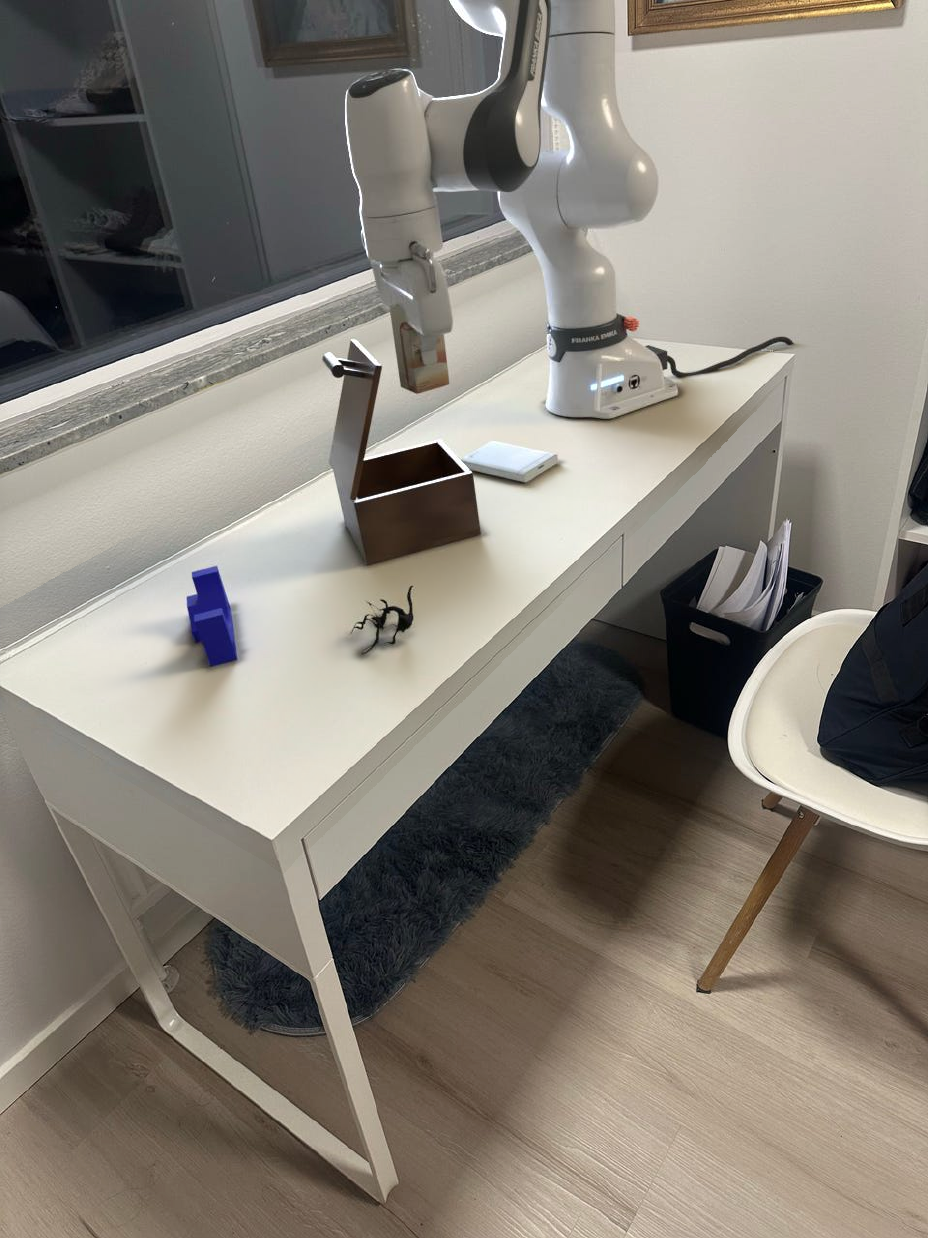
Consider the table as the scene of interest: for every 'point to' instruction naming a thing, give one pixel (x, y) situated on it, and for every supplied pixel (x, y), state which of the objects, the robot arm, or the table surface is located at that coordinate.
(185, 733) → the table surface
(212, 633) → the cable clip
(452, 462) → the chest
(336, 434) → the lid
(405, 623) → the creature
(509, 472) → the hard drive
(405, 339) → the small cardboard box
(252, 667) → the table surface
